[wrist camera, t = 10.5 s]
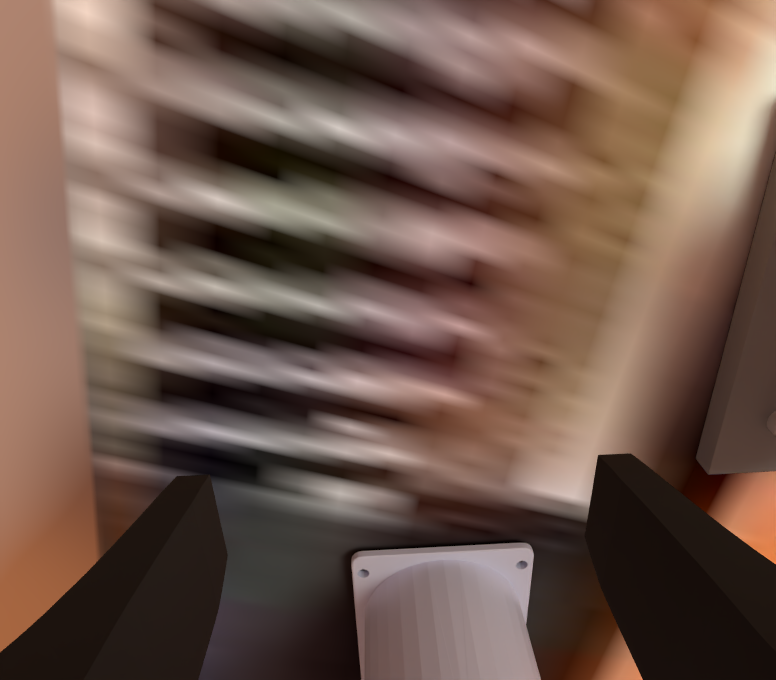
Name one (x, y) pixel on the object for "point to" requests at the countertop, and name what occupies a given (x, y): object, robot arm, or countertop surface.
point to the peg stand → (748, 364)
